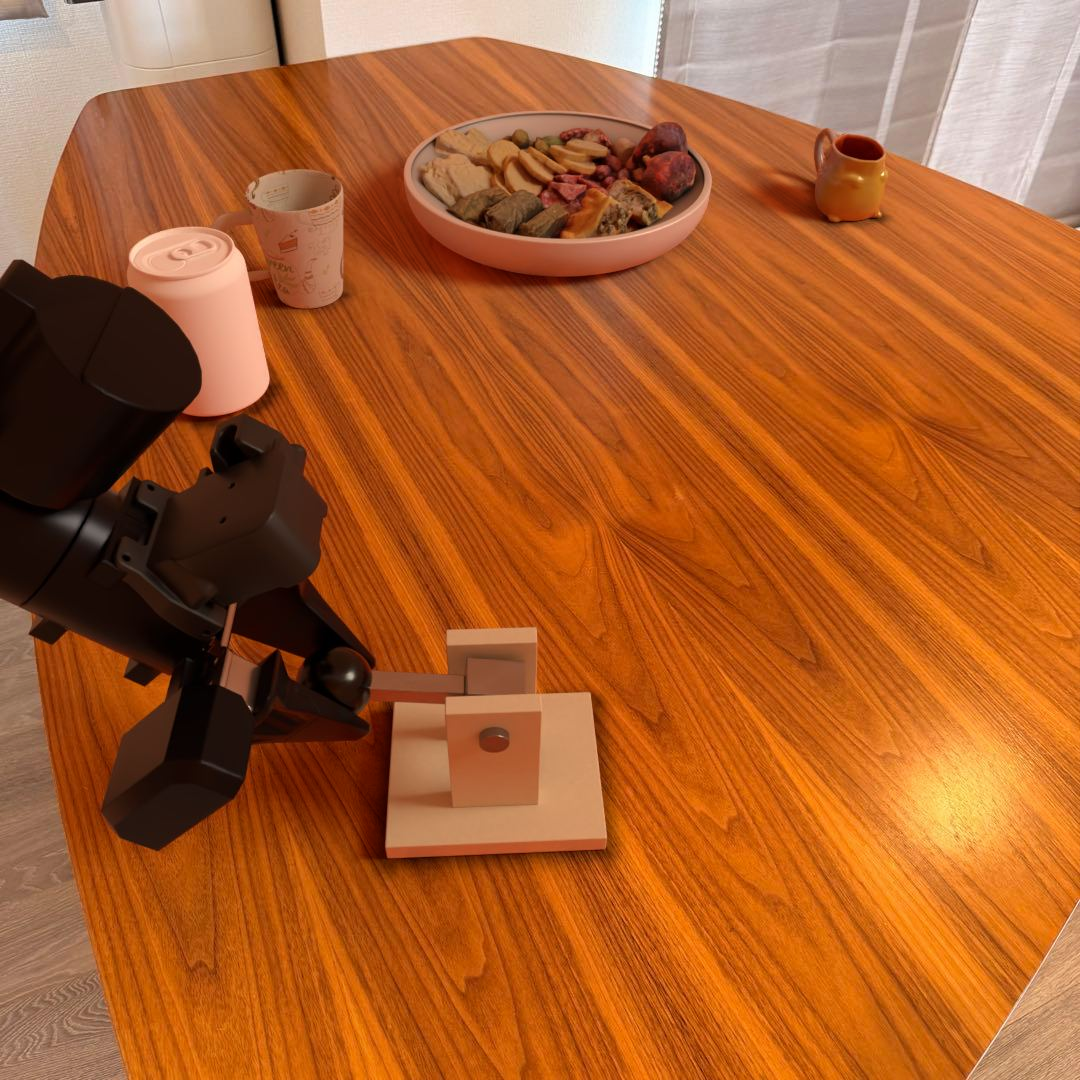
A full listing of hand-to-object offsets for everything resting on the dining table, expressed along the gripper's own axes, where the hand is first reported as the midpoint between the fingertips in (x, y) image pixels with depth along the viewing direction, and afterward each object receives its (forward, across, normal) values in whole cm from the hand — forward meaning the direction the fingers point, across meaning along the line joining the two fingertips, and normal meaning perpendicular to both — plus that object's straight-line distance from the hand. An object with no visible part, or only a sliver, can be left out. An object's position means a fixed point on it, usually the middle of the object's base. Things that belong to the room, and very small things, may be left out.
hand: (367, 700), depth 47 cm
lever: (+2, 0, -1) cm, 2 cm away
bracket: (+9, 0, +1) cm, 9 cm away
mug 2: (+36, +68, -26) cm, 81 cm away
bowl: (+15, +65, -4) cm, 67 cm away
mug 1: (-3, +50, +13) cm, 52 cm away
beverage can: (-5, +36, +16) cm, 39 cm away
